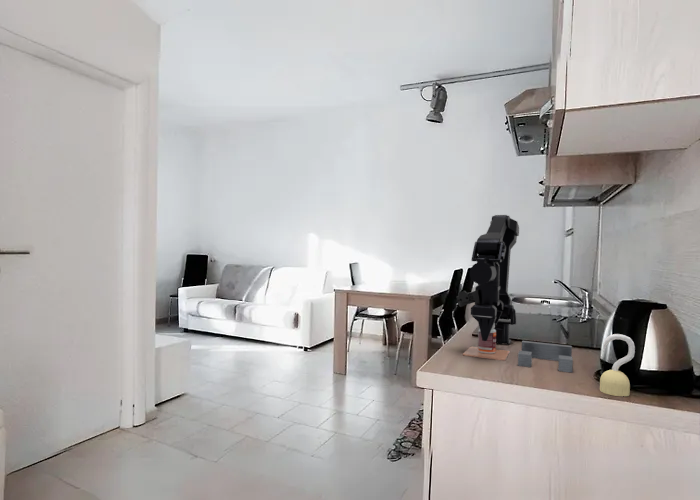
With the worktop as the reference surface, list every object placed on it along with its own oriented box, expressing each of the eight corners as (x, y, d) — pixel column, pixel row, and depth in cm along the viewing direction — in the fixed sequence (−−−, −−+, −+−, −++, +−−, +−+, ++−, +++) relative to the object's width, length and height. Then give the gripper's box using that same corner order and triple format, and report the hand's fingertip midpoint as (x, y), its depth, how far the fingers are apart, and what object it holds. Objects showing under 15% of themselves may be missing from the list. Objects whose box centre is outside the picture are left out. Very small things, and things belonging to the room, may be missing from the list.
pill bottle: (496, 354, 117) (497, 324, 117) (478, 353, 118) (479, 323, 118) (494, 350, 122) (495, 321, 122) (477, 349, 123) (477, 320, 123)
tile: (470, 347, 127) (470, 346, 127) (509, 352, 122) (509, 350, 122) (462, 355, 117) (462, 353, 117) (505, 360, 113) (505, 359, 113)
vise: (523, 351, 123) (523, 338, 124) (570, 357, 118) (571, 342, 118) (517, 365, 108) (518, 349, 108) (572, 372, 102) (572, 355, 102)
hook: (604, 394, 87) (605, 335, 87) (596, 387, 92) (597, 331, 92) (638, 398, 85) (639, 337, 85) (629, 390, 90) (630, 333, 90)
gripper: (466, 279, 132) (464, 330, 132) (452, 282, 115) (450, 340, 115) (504, 281, 127) (502, 333, 127) (495, 285, 110) (493, 345, 110)
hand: (487, 338), depth 120 cm, fingers open, 9 cm apart
